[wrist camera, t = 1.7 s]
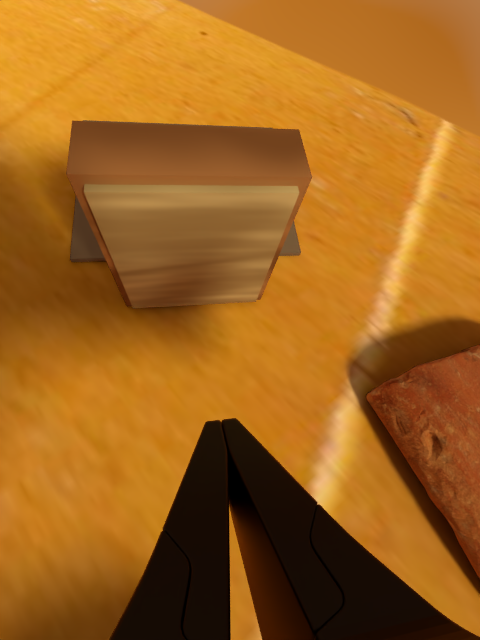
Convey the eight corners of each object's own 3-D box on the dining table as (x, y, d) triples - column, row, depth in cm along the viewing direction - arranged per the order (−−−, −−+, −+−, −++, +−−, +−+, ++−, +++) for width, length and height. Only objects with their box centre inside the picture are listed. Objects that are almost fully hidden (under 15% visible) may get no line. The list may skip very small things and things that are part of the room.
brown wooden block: (261, 304, 25) (313, 184, 14) (127, 311, 23) (65, 182, 12) (255, 266, 26) (298, 129, 15) (127, 271, 24) (72, 120, 13)
